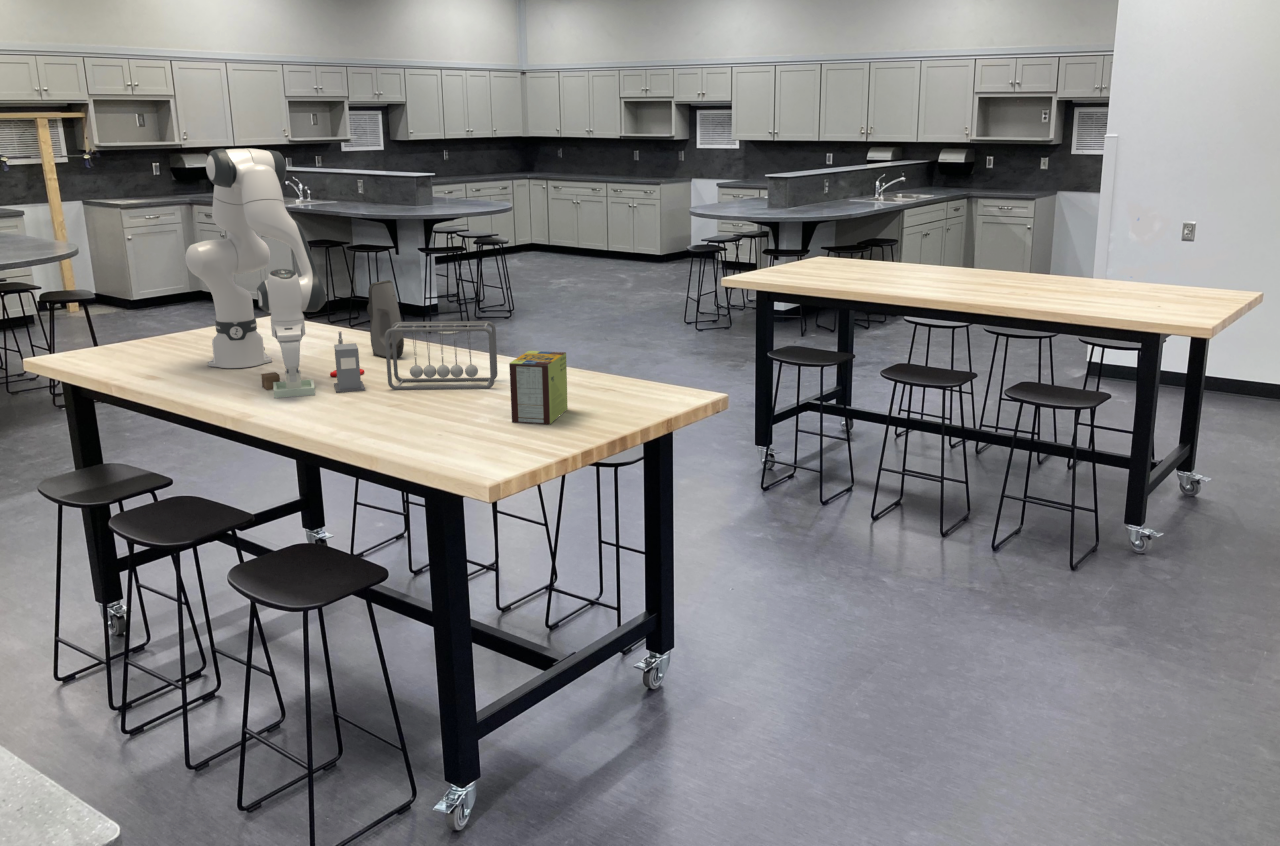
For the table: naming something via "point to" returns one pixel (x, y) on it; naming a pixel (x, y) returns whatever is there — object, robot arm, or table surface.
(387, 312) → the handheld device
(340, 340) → the tow hook
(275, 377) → the walnut block
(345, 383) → the control box
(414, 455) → the table surface
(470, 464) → the table surface
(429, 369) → the newton's cradle
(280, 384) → the tray
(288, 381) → the block
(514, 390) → the protein box
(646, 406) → the table surface
